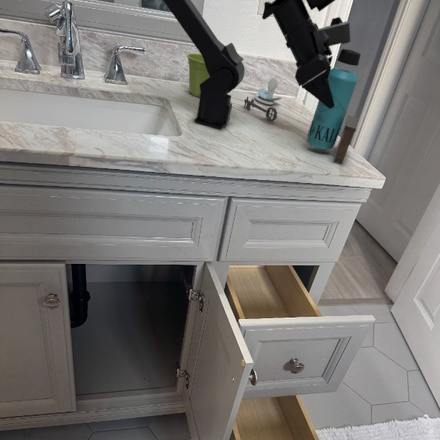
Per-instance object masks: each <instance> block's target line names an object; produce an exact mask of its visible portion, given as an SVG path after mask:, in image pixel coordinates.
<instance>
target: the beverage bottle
mask: <svg viewBox="0 0 440 440" xmlns="http://www.w3.org/2000/svg"><path fill="white" fill-rule="evenodd" d="M360 58H361V53H360V52H357V51H355V50H352V49H346V48H342V49H341V50H340V52H339V55H338V57H337V61H338V62H340V63H342V64H344V65H350V66H354V67H357V66H359V63H360ZM358 81H359V78H358V76H357V73H356V72H355V71H354V70H351V69H349V68H346V67H341V66H334V67H332V68H331V70H330V73H329V76H328V82H329V86H330V89H331V93H332V97H333V101H334V105H335V106H334V107H333V108H331V109H329V108H328V107H327V106H326V105H324V104H323V103H322V102H321V101H319V100H318V101H317V104H316V107H315V111H314V113H313V117H312V120H311V123H310V124H309V126H310V127H309V128H308V132H307V135H306V142H307V144H309V145H310V146H311V147H314V148H318V149H321V150H332V149H333V148H334V147H335V145H336V143H337V139H338V137H339V134H340V131H341V129H342V126H343V123H344V121H345V120H344V119H345V117H346V115H347V111H348V108H349V105H350V102H351V100H352V97H353V95H354V91H355V89H356V86H357V83H358Z"/></svg>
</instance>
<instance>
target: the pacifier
mask: <svg viewBox="0 0 440 440" xmlns="http://www.w3.org/2000/svg"><path fill="white" fill-rule="evenodd" d="M278 83H279V82H278V79H277V78H276V77H271V78H270V79H269V81H268V82H267V90H266V89H265V88H259V89H258V91H257V93H258V94H257V95H255V96H254V100H256V101H257V102H259V103H262V104H265V105H268V106H272V105H274V102H275V101H280V100H281V99H282V97H281V96H279V97H274V93H275V90H276V89H277V87H278Z"/></svg>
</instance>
